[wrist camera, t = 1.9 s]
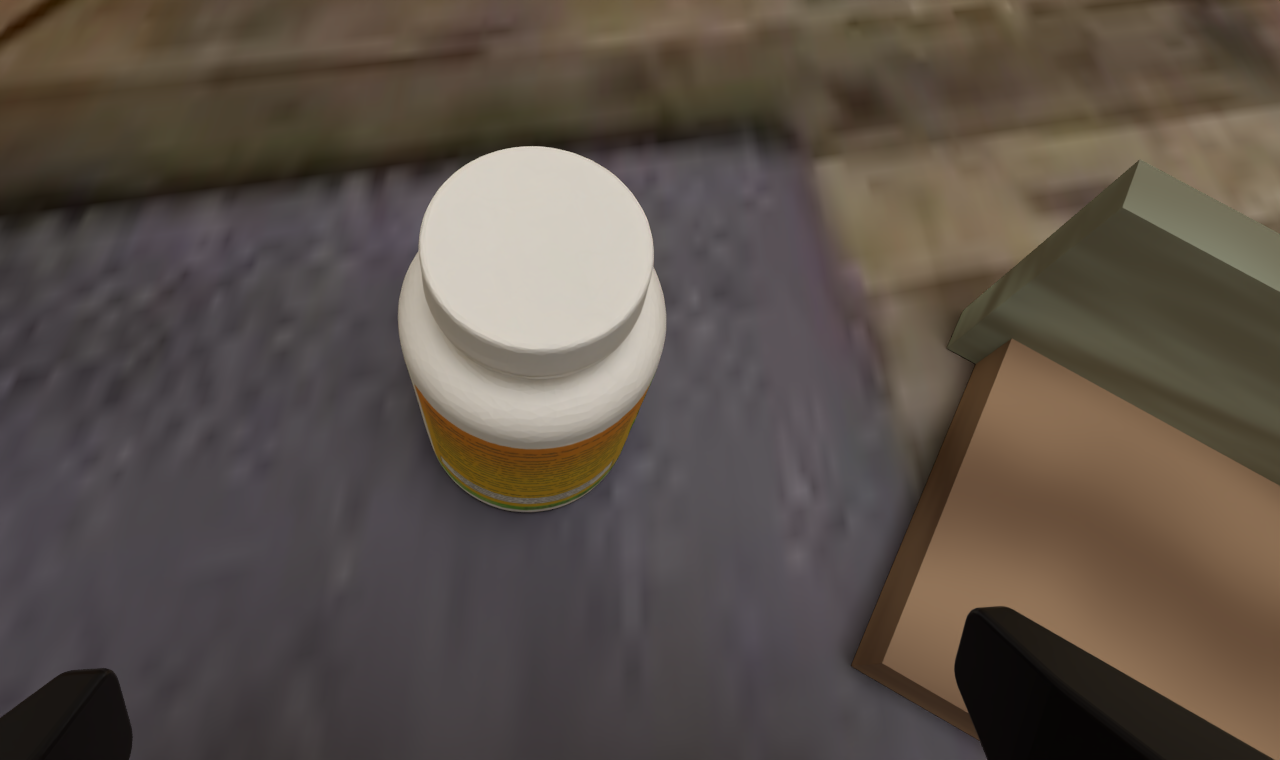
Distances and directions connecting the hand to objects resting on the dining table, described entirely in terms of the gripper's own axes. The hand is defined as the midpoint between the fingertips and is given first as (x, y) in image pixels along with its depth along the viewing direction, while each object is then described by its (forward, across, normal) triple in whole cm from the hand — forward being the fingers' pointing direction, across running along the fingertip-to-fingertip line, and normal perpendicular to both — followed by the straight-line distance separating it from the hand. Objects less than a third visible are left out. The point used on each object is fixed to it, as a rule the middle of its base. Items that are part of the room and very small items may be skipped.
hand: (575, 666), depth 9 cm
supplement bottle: (+14, 0, +4) cm, 15 cm away
